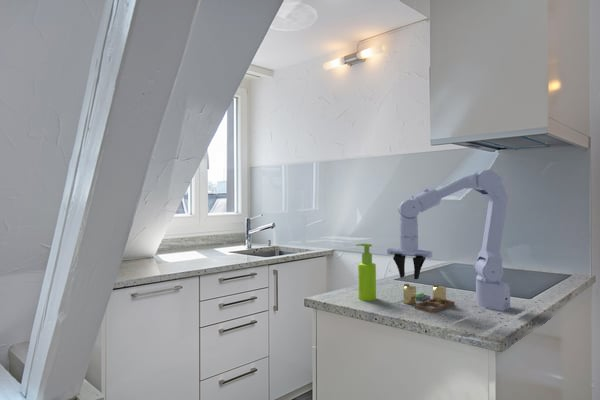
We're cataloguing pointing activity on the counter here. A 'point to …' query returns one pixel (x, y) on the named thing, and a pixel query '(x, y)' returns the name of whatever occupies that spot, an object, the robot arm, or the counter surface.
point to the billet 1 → (409, 294)
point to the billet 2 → (439, 294)
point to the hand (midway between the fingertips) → (409, 278)
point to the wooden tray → (433, 305)
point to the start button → (419, 294)
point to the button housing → (423, 298)
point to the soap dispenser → (367, 275)
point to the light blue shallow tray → (405, 305)
